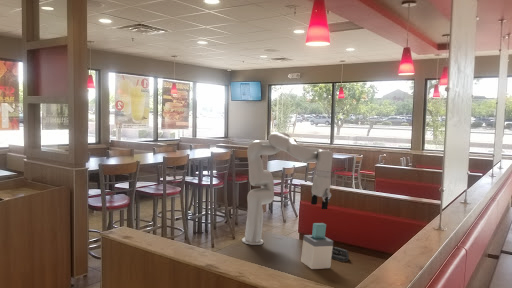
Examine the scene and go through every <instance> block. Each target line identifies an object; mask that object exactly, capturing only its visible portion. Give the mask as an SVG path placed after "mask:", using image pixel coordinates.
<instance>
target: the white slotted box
mask: <svg viewBox="0 0 512 288" xmlns="http://www.w3.org/2000/svg"><path fill="white" fill-rule="evenodd" d="M301 246H302V247H301V249H302V250H301V257H300V262H301V263H303V264H304V265H305V266H306V267H308V268H310V269H311V270H319V269H331V265H332V258H331V257H332V248H333V247H334V240H332V239H330V238H328V237H326V236H325V239H320V240H314V239H312V234H304V235H303V239H302V245H301Z"/></svg>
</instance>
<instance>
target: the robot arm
mask: <svg viewBox="0 0 512 288" xmlns="http://www.w3.org/2000/svg"><path fill="white" fill-rule="evenodd" d="M246 151H247V152H246V155H247V162H248V180H249V184H250V186H253V187H260V188H253V189H250V190H249V192H247V196H246V199H247V211H246V212H247V213H246V223H245V232H244V237H243V238H241V242H242V243H244V244H247V245H252V246H260V245H262V244H263V243H264V240H263V239H262V233H263V232H262V231H263V222H264V221H263V220H264V209H263V205H268V204H270V203H272V202H273V201H274V199H275V185H274V184H275V182H274V177H273V174H272V172H271V171H269V170H267V169H264V162H263V160H262V157H261V156H272V155H275V154H277V153H279V152H281V151H283V152H285V153H287V154H288V155H289V156H291V157H292V158H294V159H296V160H298V161H301V162H304V163H316V167H315V175H314V177H313V181H312V185H311V187H310V190H311V191H310V194H311V202H310V205H312V206H314V205H315V206H316V205H317V204H318V199H319V197H320V198H322V202H321V209H322V210H327V209H328V208H329V207H328V205H329V202H330V200H331V197H332V193H331V191H330V189H331V173H332V165H333V164H332V163H333V154H334V152H333V151H332V150H328V149H321V148H318V147H306V146H303V145H300V144H298V141H297V139H295V138H293V137H291V136H290V134H288V133H287V132H280V131H274V132H272V133H270V134H269V136H268V139H267V140H264V139H263V140H262V139H261V140H253V141H252V142H251V143H249V145H248V147H247V150H246Z"/></svg>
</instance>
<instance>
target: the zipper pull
mask: <svg viewBox="0 0 512 288" xmlns="http://www.w3.org/2000/svg"><path fill="white" fill-rule="evenodd" d="M349 259H350V255H349V251H348V250H347V249H344V248H342V247H341V248H340V247H337V246H333V248H332V257H331V260H336V261H338V262H348V261H349Z"/></svg>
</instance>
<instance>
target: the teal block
mask: <svg viewBox="0 0 512 288" xmlns="http://www.w3.org/2000/svg"><path fill="white" fill-rule="evenodd" d="M326 229H327V224H326V223H324V222H314V223H312V234H311V235H312V239H314V240H320V239H325V237H326V231H327V230H326Z"/></svg>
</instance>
